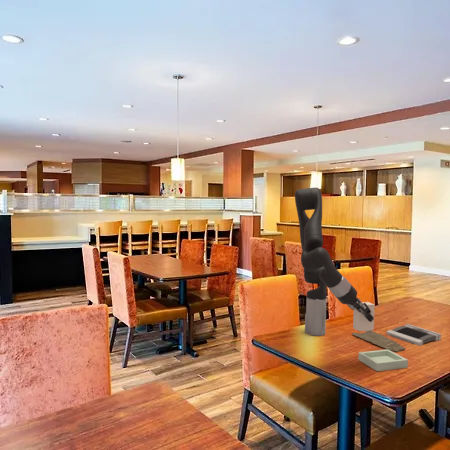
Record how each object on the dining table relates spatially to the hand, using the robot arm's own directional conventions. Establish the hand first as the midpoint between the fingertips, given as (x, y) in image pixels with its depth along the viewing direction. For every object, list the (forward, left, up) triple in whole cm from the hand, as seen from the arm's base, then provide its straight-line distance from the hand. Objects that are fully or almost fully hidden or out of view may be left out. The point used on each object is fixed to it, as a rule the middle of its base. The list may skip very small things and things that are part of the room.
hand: (368, 318), depth 155 cm
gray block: (-2, -1, -4) cm, 5 cm away
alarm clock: (+18, +42, -19) cm, 49 cm away
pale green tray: (+6, +2, -18) cm, 19 cm away
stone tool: (+3, +28, -19) cm, 34 cm away
